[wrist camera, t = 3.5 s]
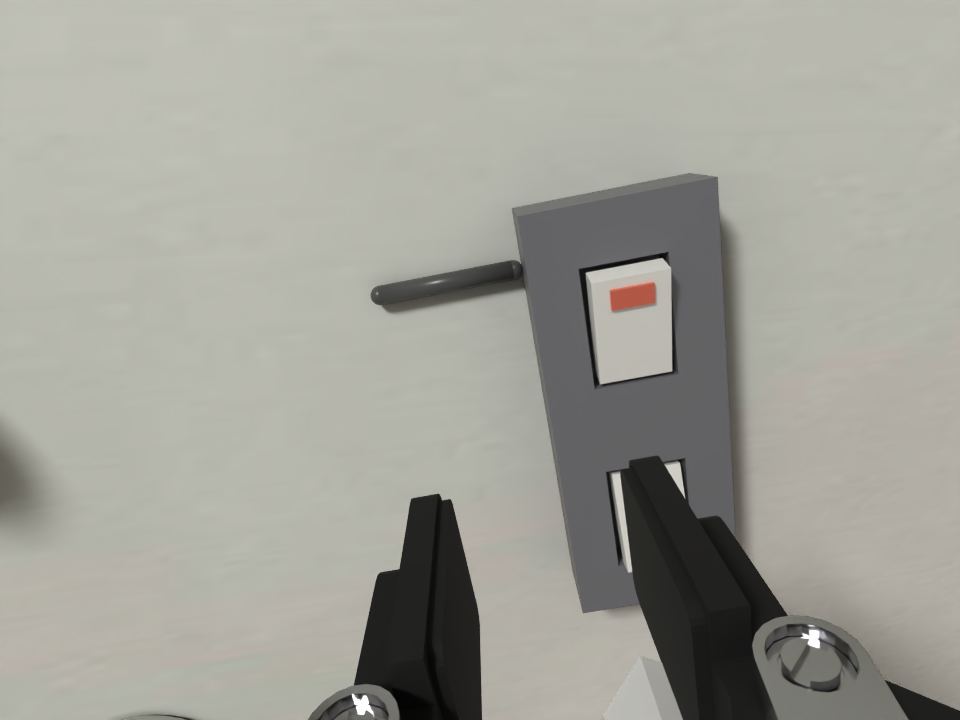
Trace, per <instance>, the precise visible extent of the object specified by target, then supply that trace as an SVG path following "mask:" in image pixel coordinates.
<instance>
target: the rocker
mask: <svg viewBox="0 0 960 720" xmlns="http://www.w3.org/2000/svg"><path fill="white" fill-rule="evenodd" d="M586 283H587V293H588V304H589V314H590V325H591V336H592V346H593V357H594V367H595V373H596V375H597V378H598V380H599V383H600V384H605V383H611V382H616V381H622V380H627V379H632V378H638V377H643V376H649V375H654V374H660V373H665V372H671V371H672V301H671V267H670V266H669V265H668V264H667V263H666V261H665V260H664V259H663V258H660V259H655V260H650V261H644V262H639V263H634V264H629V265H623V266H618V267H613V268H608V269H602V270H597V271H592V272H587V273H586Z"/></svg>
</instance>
